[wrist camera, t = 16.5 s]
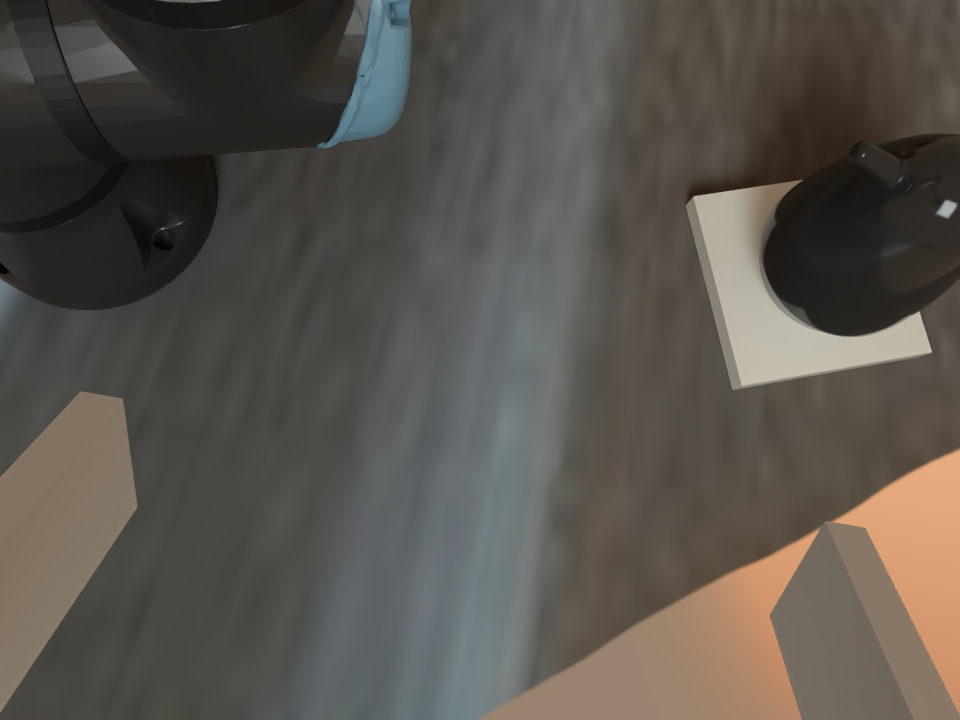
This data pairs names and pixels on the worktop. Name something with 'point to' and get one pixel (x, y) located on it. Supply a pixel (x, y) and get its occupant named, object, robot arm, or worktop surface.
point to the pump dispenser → (867, 237)
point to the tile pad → (752, 313)
